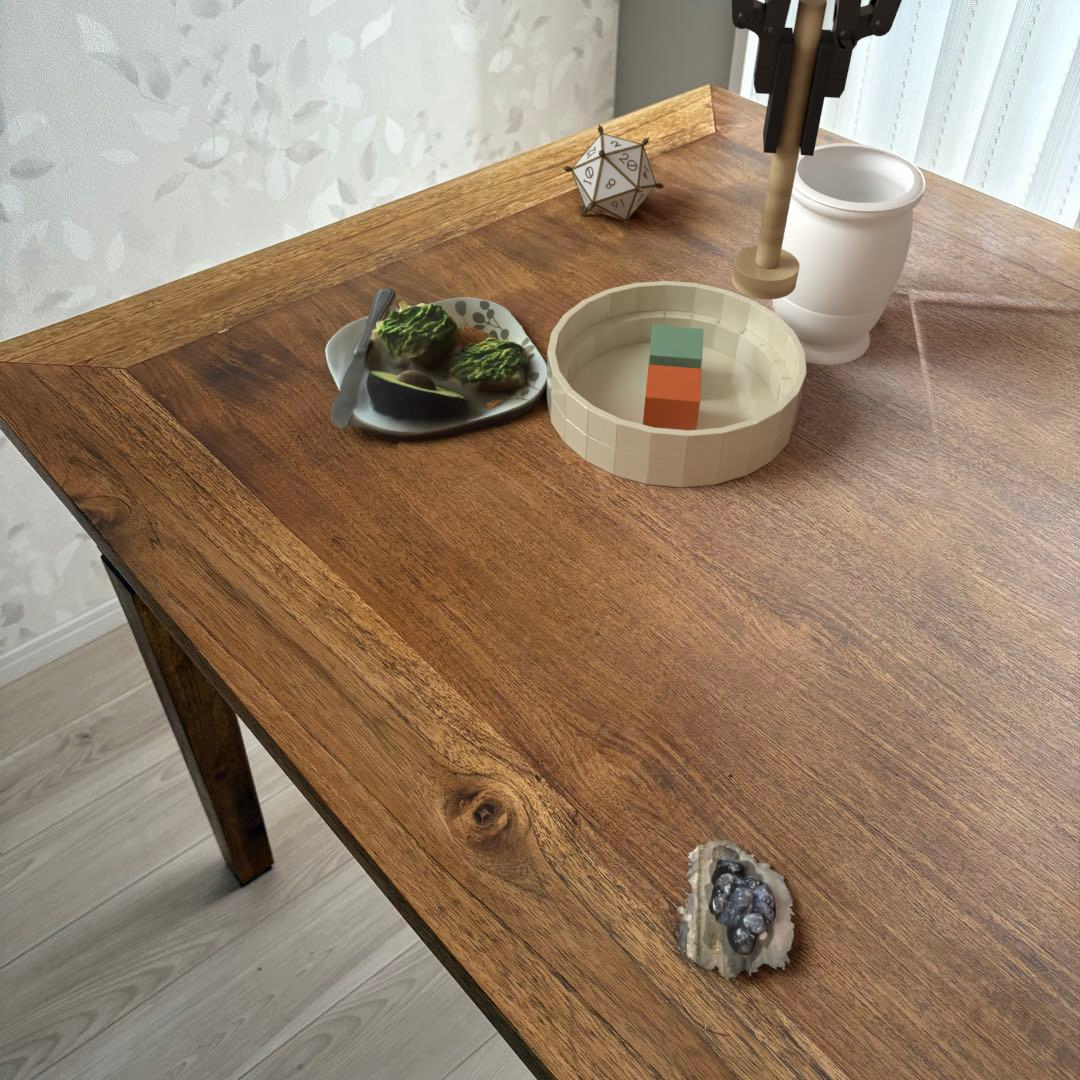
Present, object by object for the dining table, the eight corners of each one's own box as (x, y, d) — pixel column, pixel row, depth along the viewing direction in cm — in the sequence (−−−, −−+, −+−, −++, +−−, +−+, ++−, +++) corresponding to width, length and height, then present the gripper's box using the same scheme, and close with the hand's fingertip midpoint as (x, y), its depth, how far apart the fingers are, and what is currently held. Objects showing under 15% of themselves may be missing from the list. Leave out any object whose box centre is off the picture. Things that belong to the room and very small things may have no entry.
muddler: (794, 266, 78) (849, -12, 64) (797, 302, 75) (855, 17, 61) (731, 262, 78) (773, -17, 65) (731, 297, 75) (774, 12, 62)
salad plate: (292, 324, 95) (284, 278, 91) (491, 285, 99) (489, 239, 96) (344, 468, 82) (337, 419, 79) (569, 415, 86) (571, 367, 83)
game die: (628, 245, 111) (697, 171, 105) (590, 255, 104) (662, 176, 98) (570, 178, 112) (636, 101, 106) (530, 183, 105) (598, 101, 99)
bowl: (790, 347, 93) (801, 290, 89) (797, 504, 80) (811, 446, 76) (562, 328, 95) (563, 272, 91) (532, 480, 81) (532, 422, 77)
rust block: (696, 410, 86) (701, 368, 83) (694, 443, 83) (700, 401, 80) (644, 405, 86) (648, 364, 84) (641, 439, 84) (645, 397, 81)
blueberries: (687, 994, 55) (691, 978, 54) (647, 849, 61) (649, 832, 59) (817, 970, 56) (824, 953, 55) (765, 829, 61) (770, 811, 60)
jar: (872, 388, 89) (919, 219, 78) (745, 363, 91) (773, 195, 81) (888, 316, 96) (932, 152, 85) (769, 294, 98) (798, 131, 88)
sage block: (698, 369, 90) (703, 328, 87) (696, 400, 87) (702, 358, 84) (648, 365, 90) (652, 324, 87) (645, 396, 87) (649, 354, 84)
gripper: (714, -324, 50) (667, 165, 67) (1046, -314, 49) (913, 181, 66) (716, -350, 56) (672, 110, 72) (1016, -341, 54) (900, 124, 71)
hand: (787, 143), depth 69 cm, fingers closed on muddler, 2 cm apart
